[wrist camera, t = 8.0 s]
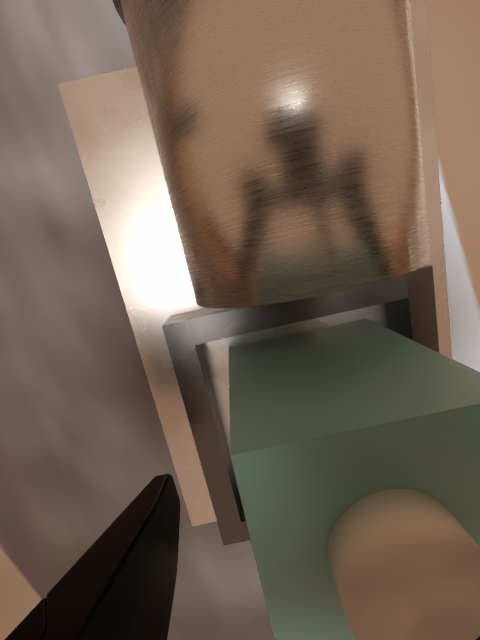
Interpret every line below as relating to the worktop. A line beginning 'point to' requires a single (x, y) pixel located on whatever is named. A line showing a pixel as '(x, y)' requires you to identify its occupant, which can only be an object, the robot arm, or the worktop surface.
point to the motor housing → (261, 196)
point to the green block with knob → (359, 483)
